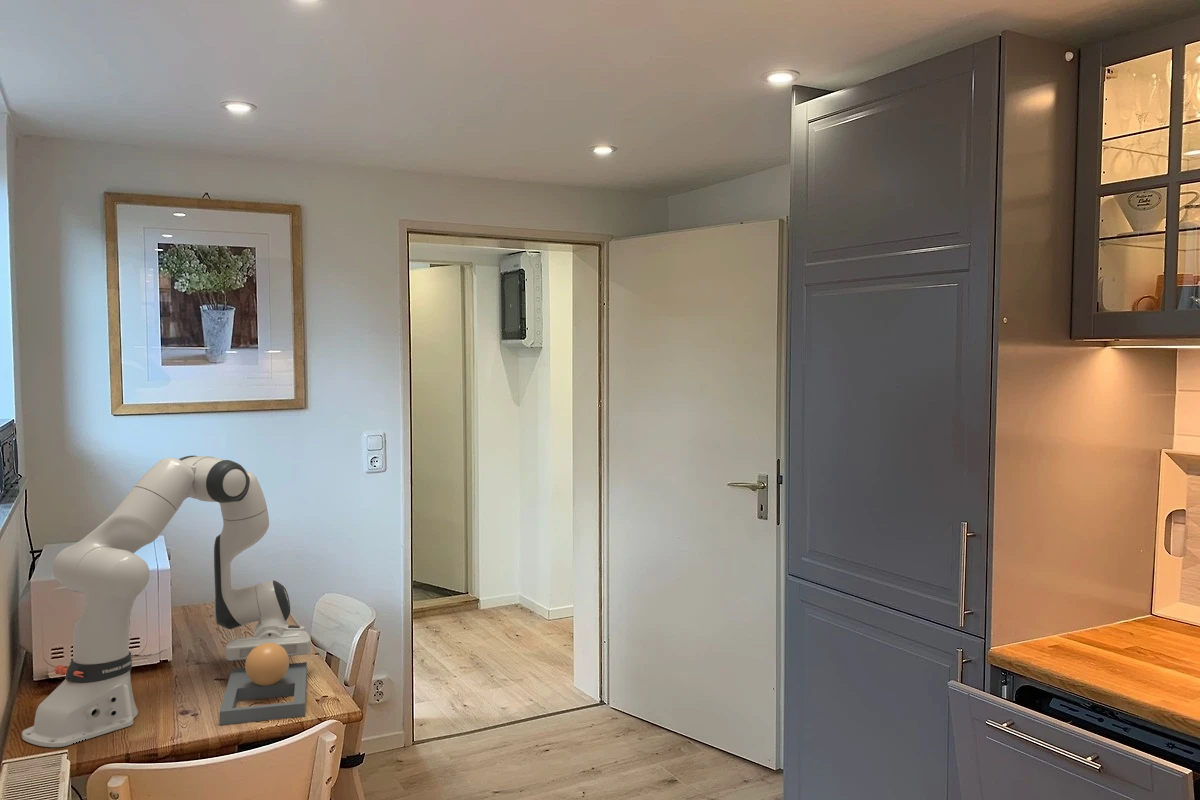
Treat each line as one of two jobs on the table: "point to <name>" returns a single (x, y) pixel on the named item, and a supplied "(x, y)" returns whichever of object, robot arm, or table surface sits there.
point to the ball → (267, 664)
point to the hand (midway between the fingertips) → (267, 657)
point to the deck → (264, 696)
